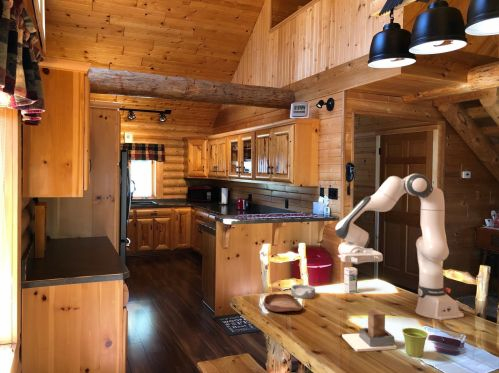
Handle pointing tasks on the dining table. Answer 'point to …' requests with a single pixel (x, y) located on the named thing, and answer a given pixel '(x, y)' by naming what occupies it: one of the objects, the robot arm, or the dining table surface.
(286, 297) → the basket
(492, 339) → the dining table surface
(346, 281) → the syrup box
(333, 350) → the dining table surface
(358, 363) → the dining table surface
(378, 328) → the walnut post
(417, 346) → the plant pot
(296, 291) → the dish
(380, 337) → the steel collar
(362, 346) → the base plate
